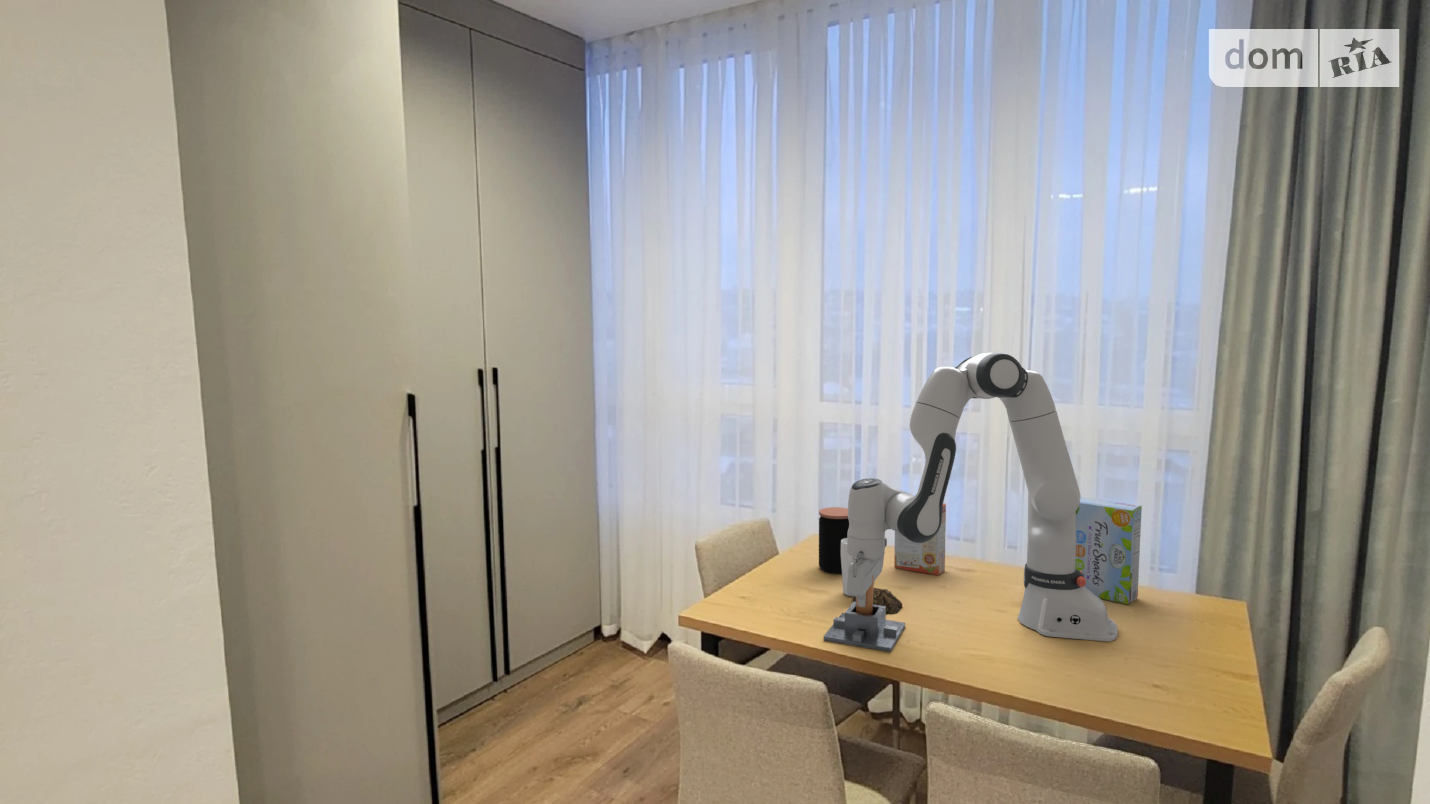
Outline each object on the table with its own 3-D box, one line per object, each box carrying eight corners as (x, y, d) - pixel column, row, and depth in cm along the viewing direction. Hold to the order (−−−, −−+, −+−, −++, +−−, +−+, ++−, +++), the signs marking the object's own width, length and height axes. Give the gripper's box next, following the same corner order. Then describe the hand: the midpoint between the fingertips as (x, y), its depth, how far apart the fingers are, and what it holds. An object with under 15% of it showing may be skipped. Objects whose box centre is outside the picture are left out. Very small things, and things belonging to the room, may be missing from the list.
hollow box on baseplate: (905, 626, 191) (905, 603, 190) (890, 652, 177) (891, 627, 176) (842, 616, 198) (842, 593, 197) (823, 640, 183) (823, 616, 183)
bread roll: (847, 600, 210) (847, 582, 209) (888, 595, 213) (888, 578, 212) (867, 617, 198) (867, 599, 197) (911, 612, 201) (911, 594, 200)
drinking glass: (866, 597, 210) (867, 544, 209) (842, 598, 211) (842, 544, 209) (862, 589, 217) (863, 537, 215) (838, 589, 217) (839, 537, 216)
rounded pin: (874, 616, 188) (875, 573, 187) (870, 622, 184) (871, 578, 183) (858, 613, 190) (859, 570, 188) (853, 619, 186) (854, 575, 185)
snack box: (1139, 597, 209) (1144, 504, 206) (1129, 606, 202) (1134, 511, 199) (1056, 579, 223) (1060, 492, 221) (1045, 587, 217) (1048, 498, 214)
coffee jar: (859, 567, 236) (860, 509, 234) (845, 577, 227) (846, 517, 225) (827, 561, 242) (827, 505, 240) (812, 571, 233) (813, 513, 231)
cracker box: (945, 570, 232) (947, 502, 230) (938, 576, 227) (940, 507, 225) (900, 562, 240) (901, 497, 237) (893, 568, 235) (894, 501, 233)
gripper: (867, 560, 174) (866, 619, 176) (888, 537, 193) (887, 590, 194) (840, 557, 177) (840, 615, 179) (863, 534, 195) (862, 586, 197)
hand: (865, 602), depth 186 cm, fingers closed on rounded pin, 4 cm apart
